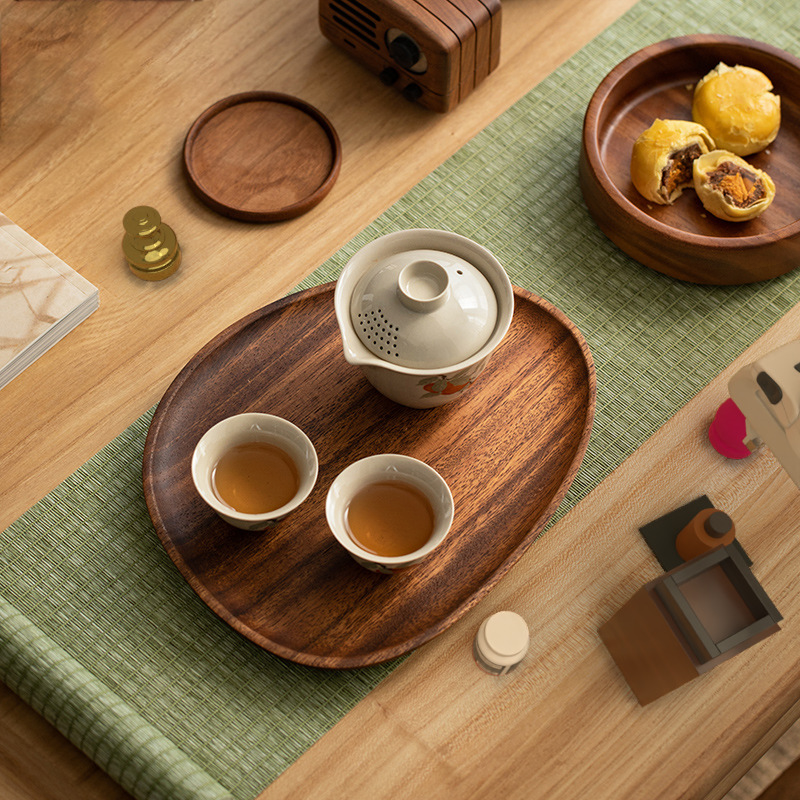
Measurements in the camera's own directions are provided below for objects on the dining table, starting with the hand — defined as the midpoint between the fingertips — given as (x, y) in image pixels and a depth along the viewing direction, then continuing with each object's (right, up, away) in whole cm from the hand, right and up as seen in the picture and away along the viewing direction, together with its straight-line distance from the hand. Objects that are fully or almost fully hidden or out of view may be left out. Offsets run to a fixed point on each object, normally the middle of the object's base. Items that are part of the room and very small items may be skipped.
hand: (780, 483), depth 91 cm
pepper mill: (+5, +3, +28) cm, 29 cm away
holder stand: (-8, -21, +15) cm, 27 cm away
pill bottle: (-27, -21, +15) cm, 37 cm away
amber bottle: (-2, -9, +21) cm, 23 cm away
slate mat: (-2, -10, +21) cm, 23 cm away
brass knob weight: (-72, +28, +37) cm, 85 cm away
